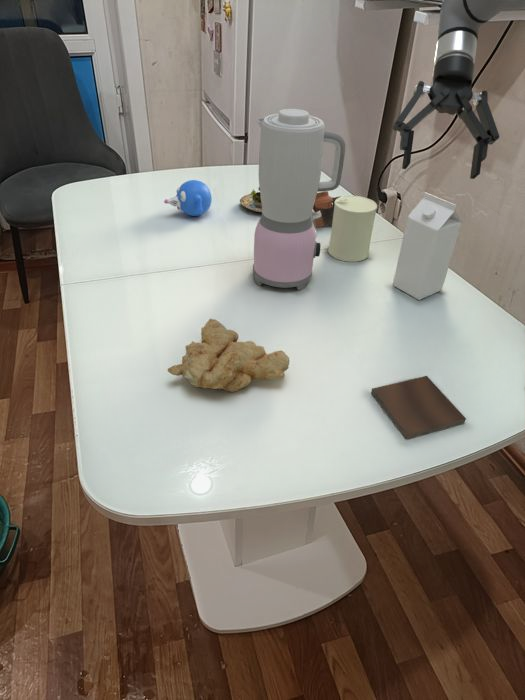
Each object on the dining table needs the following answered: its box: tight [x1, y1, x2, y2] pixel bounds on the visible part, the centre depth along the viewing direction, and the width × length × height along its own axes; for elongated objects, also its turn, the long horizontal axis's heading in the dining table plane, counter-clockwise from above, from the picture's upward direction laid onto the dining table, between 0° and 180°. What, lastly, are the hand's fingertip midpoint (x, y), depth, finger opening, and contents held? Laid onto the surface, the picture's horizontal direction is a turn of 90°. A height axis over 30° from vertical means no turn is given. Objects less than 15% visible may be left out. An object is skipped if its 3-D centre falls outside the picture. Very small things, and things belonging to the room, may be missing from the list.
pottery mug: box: [312, 191, 342, 229], centre depth 128 cm, size 12×10×8 cm
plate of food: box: [239, 186, 262, 213], centre depth 132 cm, size 12×12×8 cm
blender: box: [252, 108, 346, 291], centre depth 96 cm, size 16×12×32 cm
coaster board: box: [370, 375, 467, 440], centre depth 77 cm, size 10×10×1 cm
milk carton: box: [392, 191, 463, 301], centre depth 99 cm, size 7×7×19 cm
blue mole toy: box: [163, 179, 213, 217], centre depth 126 cm, size 12×12×8 cm
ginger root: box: [167, 318, 290, 393], centre depth 79 cm, size 16×16×8 cm
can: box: [327, 195, 378, 263], centre depth 112 cm, size 9×9×12 cm
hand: (440, 171), depth 99 cm, fingers open, 13 cm apart
